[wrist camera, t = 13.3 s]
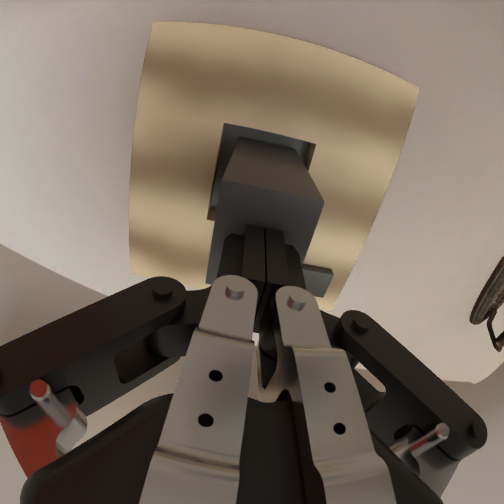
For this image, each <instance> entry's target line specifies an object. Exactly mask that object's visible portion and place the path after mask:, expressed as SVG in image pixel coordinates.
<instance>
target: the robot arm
mask: <svg viewBox="0 0 504 504" xmlns="http://www.w3.org/2000/svg"><path fill="white" fill-rule="evenodd" d="M253 332H255V333H259V341H258V344H257V346H256V365H257V378H258V392H259V395H258V400H255V399H252V398H248V392H249V384H250V376H251V369H252V361H253V352H254V341H252V334H253ZM181 356H185V360H184V363H183V366H182V369H181V372H180V375H179V378H178V382H177V385H176V388H175V391H174V393H172V394H167V395H163V396H159V397H156V398H153V399H151V400H149V401H147V402H145V403H143V404H142V405H140V406H139V407H137V408H136V409H134V410H133V411H131V412H130V413H128V414H127V415H126V416H124V417H123V418H121V419H120V420H118V421H117V422H115V423H114V424H112V425H111V426H109V427H108V428H106V429H104V430H103V431H101V432H100V433H98V434H97V435H95V436H94V437H92V438H90V439H89V440H87V441H86V442H84V443H83V444H81V445H79V446H78V447H76V448H74V449H73V450H71V449H72V447H73V446H74V444H75V443H76V442H77V441H79V440H80V439H81V438H82V437H83V436H84V434H85V432H86V430H87V418H86V417H87V416H88V415H90V414H92V413H94V412H95V411H97V410H99V409H101V408H102V407H104V406H106V405H107V404H109V403H111V402H112V401H114V400H116V399H117V398H119V397H121V396H122V395H124V394H126V393H128V392H129V391H131V390H132V389H134V388H136V387H137V386H139V385H141V384H142V383H144V382H145V381H147V380H149V379H150V378H152V377H153V376H155V375H156V374H158V373H160V372H161V371H163V370H164V369H166V368H168V367H169V366H171V365H172V364H174V363H175V362H177V361H178V360H179V359H180V357H181ZM359 362H360V363H361V364H362V365H363V366H364V367H365V368H366V369H368V370H369V371H370V372H371V373H372V374H373V375H374V376H375V377H376V378H377V379H378V380H379V381H380V382H381V383H382V384H383V385H384V386H385V388H386V392H379V391H378V390H376V389H375V388H374V387H373V386H372V385H371V384H370V383H369V382H368V381H367V380H366V379H365V378H363V377H362V376H361V375H360V374H359V373H358V372H357V371H356V370H355V369H354V368H355V366H356V365H357V364H358V363H359ZM0 422H1V425H2V427H3V430H4V432H5V434H6V437H7V439H8V441H9V443H10V445H11V448H12V450H13V452H14V454H15V456H16V458H17V459H18V462H19V463H20V465H21V467H22V469H23V470H24V472H25V474H26V476H27V478H28V479H27V480H26V482H25V483H24V485H23V488H22V491H21V496H20V504H443V502H442V500H441V498H440V497H441V495H442V493H443V492H444V490H445V488H446V487H447V485H448V483H449V481H450V479H451V477H452V476H453V474H454V472H455V470H456V468H457V466H458V464H459V462H460V461H461V460H462V459H463V458H465V457H466V456H468V455H470V454H472V453H473V452H475V451H476V450H478V449H480V448H481V447H482V446H483V445H484V444H485V442H486V440H487V428H486V425H485V423H484V421H483V419H482V418H481V417H480V416H479V415H478V414H477V413H476V412H475V411H474V410H473V409H472V408H471V407H470V406H469V405H468V404H466V403H465V402H464V401H463V400H462V399H461V398H460V397H459V396H458V395H457V394H456V393H455V392H454V391H453V390H452V389H450V388H449V387H448V386H447V385H446V384H445V383H444V382H443V381H442V380H441V379H440V378H438V377H437V376H436V375H435V374H434V373H433V372H432V371H431V370H430V369H429V368H427V367H426V366H425V365H424V364H423V363H422V362H421V361H420V360H419V359H417V358H416V357H415V356H414V355H413V354H412V353H411V352H410V351H408V350H407V349H406V348H405V347H404V346H403V345H402V344H401V343H399V342H398V341H397V340H396V339H395V338H394V337H393V336H392V335H390V334H389V333H388V332H387V331H386V330H385V329H383V328H382V327H381V326H380V325H379V324H378V323H377V322H375V321H374V320H373V319H372V318H371V317H369V316H368V315H367V314H365V313H363V312H360V311H356V310H349V311H346V312H345V313H343V315H342V316H341V318H338V317H336V316H333V315H330V314H328V313H326V312H323V311H322V310H320V309H319V306H318V303H317V301H316V299H315V297H314V296H313V295H312V294H311V293H309V292H308V291H307V290H306V285H305V280H304V275H303V270H302V265H301V260H300V255H299V253H298V251H297V250H296V249H295V248H294V246H293V245H288V244H285V243H284V236H283V231H279V230H274V229H269V228H264V227H259V226H255V225H250V224H246V226H245V230H244V235H239V234H234V233H231V234H230V235H228V236H227V237H226V238H225V240H224V244H223V249H222V254H221V259H220V264H219V268H218V273H217V278H216V280H215V281H214V282H213V284H212V285H211V286H210V287H208V288H205V289H202V290H194V291H186V289H185V287H184V285H183V284H182V283H181V282H179V281H178V280H176V279H173V278H171V277H165V276H157V277H152V278H149V279H147V280H145V281H142V282H140V283H138V284H136V285H133V286H131V287H129V288H126V289H124V290H122V291H120V292H117V293H115V294H113V295H111V296H108V297H106V298H104V299H102V300H100V301H97V302H95V303H93V304H91V305H88V306H86V307H84V308H82V309H80V310H77V311H75V312H73V313H71V314H69V315H67V316H64V317H62V318H60V319H58V320H56V321H53V322H51V323H49V324H47V325H45V326H43V327H41V328H38V329H36V330H34V331H32V332H30V333H28V334H25V335H23V336H21V337H19V338H17V339H15V340H13V341H11V342H8V343H6V344H4V345H2V346H0Z"/></svg>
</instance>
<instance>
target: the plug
mask: <svg viewBox="0 0 504 504" xmlns="http://www.w3.org/2000/svg"><path fill="white" fill-rule="evenodd" d="M324 203H325V202H324V200H323V198H322V196H321V194H320V192H319V190H318V188H317V187H316V185H315V183H314V181H313V179H312V177H311V176H310V174H309V172H308V170H307V168H306V167H305V165H304V163H303V161H302V160H301V158H300V156H299V154H298V153H297V151H296V149H294V148H290V147H286V146H282V145H277V144H273V143H269V142H264V141H259V140H255V139H250V138H245V137H239V139H238V142H237V144H236V147H235V149H234V151H233V154H232V156H231V159H230V161H229V163H228V166H227V168H226V171H225V173H224V176H223V178H222V182H221V188H220V193H219V199H218V205H217V211H216V217H215V223H214V229H213V235H212V241H211V248H210V254H209V261H208V268H207V275H206V282H205V284H210V285H212V284H213V282H214V281H215V280H216V278H217V273H218V268H219V264H220V259H221V254H222V249H223V244H224V240H225V238H226V237H227V236H228V235H230V234H231V233H234V234H239V235H244V230H245V226H246V224H250V225H255V226H259V227H264V228H269V229H274V230H279V231H283V236H284V243H285V244H288V245H293V246H294V248H295V249H296V250H297V251H298V253H299V255H300V260H301V265H303V262H304V259H305V257H306V254H307V251H308V249H309V246H310V243H311V240H312V238H313V235H314V232H315V229H316V226H317V224H318V221H319V218H320V215H321V212H322V209H323V206H324Z"/></svg>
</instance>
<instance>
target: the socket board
mask: <svg viewBox="0 0 504 504" xmlns="http://www.w3.org/2000/svg"><path fill="white" fill-rule="evenodd" d="M419 91H420V88H419V87H417V86H415V85H413V84H412V83H410V82H408V81H406V80H404V79H402V78H400V77H398V76H396V75H394V74H391V73H389V72H387V71H385V70H383V69H381V68H378V67H376V66H374V65H371V64H369V63H366V62H364V61H362V60H359V59H356V58H354V57H351V56H349V55H346V54H343V53H340V52H337V51H334V50H331V49H328V48H325V47H322V46H319V45H316V44H312V43H309V42H305V41H302V40H298V39H294V38H290V37H286V36H282V35H277V34H273V33H268V32H263V31H258V30H252V29H247V28H240V27H233V26H226V25H217V24H207V23H194V22H170V21H153V24H152V28H151V32H150V36H149V40H148V45H147V49H146V54H145V59H144V64H143V70H142V75H141V81H140V87H139V93H138V100H137V108H136V115H135V124H134V133H133V144H132V157H131V172H130V197H129V245H130V270H131V274H134V275H138V276H143V277H147V278H152V277H157V276H165V277H171V278H173V279H176V280H178V281H179V282H181V283H182V284H183V285H184V286H189V287H194V288H199V289H205V288H208V287H210V286H211V285H210V284H205V282H206V275H207V268H208V261H209V254H210V248H211V241H212V235H213V229H214V223H215V217H216V211H217V205H218V199H219V193H220V188H221V182H222V178H223V176H224V173H225V171H226V168H227V166H228V163H229V161H230V159H231V156H232V154H233V151H234V149H235V147H236V144H237V142H238V139H239V137H245V138H250V139H255V140H259V141H264V142H269V143H273V144H277V145H282V146H286V147H290V148H294V149H296V151H297V153H298V154H299V156H300V158H301V160H302V161H303V163H304V165H305V167H306V168H307V170H308V172H309V174H310V176H311V177H312V179H313V181H314V183H315V185H316V187H317V188H318V190H319V192H320V194H321V196H322V198H323V200H324V202H325V203H324V206H323V209H322V212H321V215H320V218H319V221H318V224H317V226H316V229H315V232H314V235H313V238H312V240H311V243H310V246H309V249H308V251H307V254H306V257H305V259H304V262H303V265H302V270H303V275H304V280H305V285H306V290H307V291H308V292H309V293H311V294H312V295H313V296H314V297H315V299H316V301H317V303H318V306H319V309H320V310H326V311H331V310H332V308H333V306H334V304H335V302H336V300H337V298H338V296H339V294H340V292H341V290H342V289H343V287H344V285H345V283H346V281H347V279H348V277H349V275H350V272H351V270H352V268H353V266H354V264H355V262H356V260H357V258H358V256H359V254H360V251H361V249H362V247H363V245H364V243H365V241H366V238H367V236H368V234H369V232H370V229H371V227H372V225H373V222H374V220H375V218H376V215H377V213H378V211H379V208H380V206H381V203H382V201H383V198H384V196H385V193H386V191H387V188H388V186H389V183H390V180H391V178H392V175H393V172H394V170H395V167H396V164H397V161H398V158H399V156H400V153H401V150H402V147H403V144H404V141H405V138H406V135H407V132H408V129H409V125H410V122H411V119H412V116H413V112H414V109H415V105H416V102H417V98H418V94H419Z"/></svg>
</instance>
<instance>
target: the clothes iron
mask: <svg viewBox="0 0 504 504" xmlns="http://www.w3.org/2000/svg"><path fill="white" fill-rule="evenodd" d="M503 303H504V257H502V259H501V260H500V262H499V263H498V265H497V267H496V268H495V270H494V271H493V273H492V275H491V276H490V278H489V279H488V281H487V283H486V284H485V286H484V288H483V290H482V291H481V293H480V295H479V297H478V299H477V301H476V303H475V305H474V307H473V310H472V312H471V316H470V322H471V323H472V324H474V325H476V324H480V323H482V322H483V321H484V320H486V319H487V318H488V317H489V316H490V317H489V319H488V321H487V328H488V331H489V334H490V337H491V340H492V343H493V346H494V348H495V349H496V350H497V351H498V352H500V351H501V350H502V347H503V346H504V331H503V332H502V333H501V334H500V335H499V336H498V337H497V338H495V335H494V332H493V329H492V321H493V319H494V317H495V315H496V313H497V309H498V308H499V307H500V306H501V305H502V304H503Z"/></svg>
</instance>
